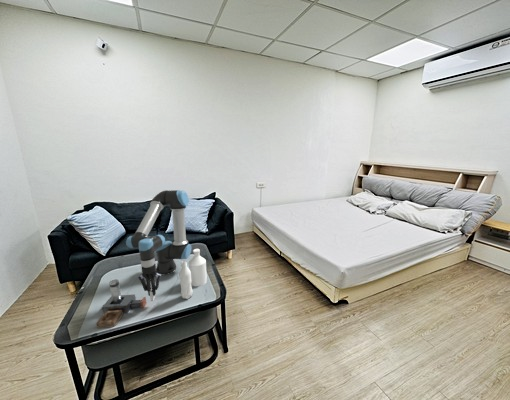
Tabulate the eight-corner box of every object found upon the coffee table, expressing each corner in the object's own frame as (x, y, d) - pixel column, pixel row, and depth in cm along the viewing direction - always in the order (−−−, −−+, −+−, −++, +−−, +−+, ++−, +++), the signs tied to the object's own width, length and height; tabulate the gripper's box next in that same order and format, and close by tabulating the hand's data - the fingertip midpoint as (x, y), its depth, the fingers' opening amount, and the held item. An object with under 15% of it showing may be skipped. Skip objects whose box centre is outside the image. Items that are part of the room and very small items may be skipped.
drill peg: (124, 304, 134) (120, 279, 130) (120, 310, 129) (115, 283, 125) (116, 305, 134) (111, 279, 130) (112, 310, 129) (107, 284, 125)
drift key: (146, 302, 135) (145, 297, 134) (143, 307, 131) (142, 301, 130) (132, 303, 134) (131, 298, 133) (129, 308, 130) (128, 302, 129)
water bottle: (183, 293, 144) (179, 259, 138) (193, 292, 145) (190, 258, 139) (180, 300, 137) (176, 265, 132) (191, 299, 138) (188, 264, 132)
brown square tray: (122, 314, 126) (122, 309, 125) (114, 326, 117) (113, 321, 117) (106, 315, 125) (105, 311, 125) (97, 327, 117) (96, 323, 116)
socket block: (135, 301, 137) (134, 294, 136) (128, 312, 127) (126, 305, 126) (112, 302, 136) (111, 296, 135) (103, 314, 126) (101, 307, 125)
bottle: (199, 275, 165) (197, 245, 159) (210, 280, 158) (208, 249, 153) (187, 283, 155) (184, 251, 150) (198, 288, 149) (195, 255, 143)
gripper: (161, 261, 131) (165, 295, 136) (139, 262, 130) (144, 296, 135) (157, 267, 124) (161, 303, 129) (134, 268, 123) (139, 304, 128)
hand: (152, 299), depth 132 cm, fingers closed
